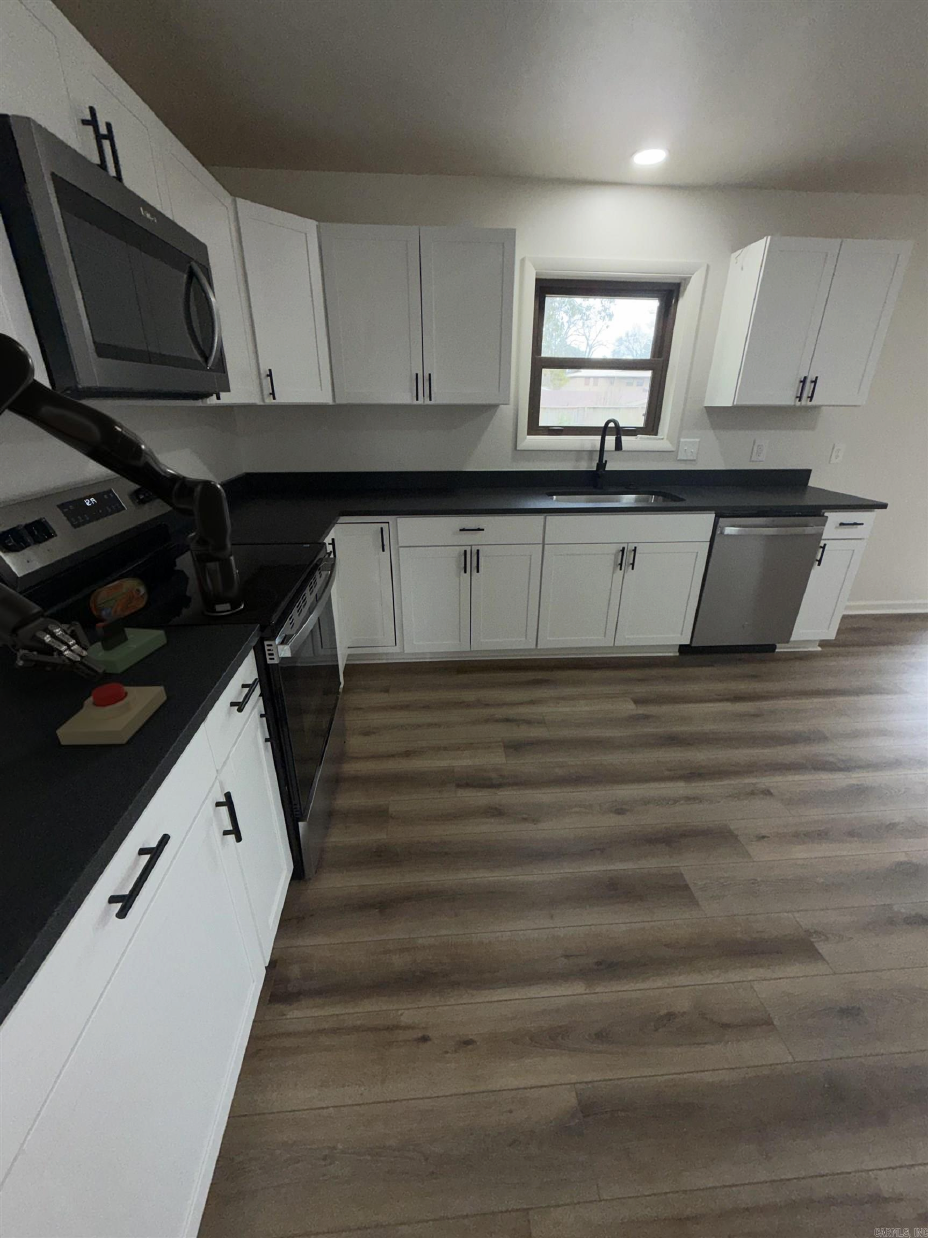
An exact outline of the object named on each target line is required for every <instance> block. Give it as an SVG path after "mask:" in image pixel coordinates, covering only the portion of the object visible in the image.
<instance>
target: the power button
mask: <svg viewBox="0 0 928 1238" xmlns="http://www.w3.org/2000/svg"><path fill="white" fill-rule="evenodd" d="M123 687H124V685H123V684H122V683H120V682H110V683H106V684H103V685H100V686H98V687H96V688H95V689H93V690H92V691H91V696H92V697H93V700H94V703H95V705H96V706H97V707H105V706H109V705H113V704H116V703H118V702H120V701H122V700H124V699H125V698H126V694H125V691H124V688H123Z"/></svg>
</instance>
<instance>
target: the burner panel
mask: <svg viewBox="0 0 928 1238" xmlns="http://www.w3.org/2000/svg"><path fill="white" fill-rule="evenodd" d="M124 628H125V631H126V635H127V638H128V640H127V641H125V642H124V643H122V644H120V645H119V646H117V647H115V648H114V649H112V650H110V651H108V650H103V648H102V645H101V642H100V640H99V641H98V642H96V643H94V644H92V645H90V648H89V649H88V651H87V655H88V656H89V657H90V658H92V659H94V660H95V661H97V662H99V663H100V664H102V665H103V666H104V667H105V668H106V672H105V673H109V674H121V673H122V672H124V671H125V670H127V669H128V668H130V667H131V666H133V665H135V664H136V663H138V662H139V661H141V660H142V659H143V658H145V657H147V656H148V655H150V654H151V653H153V652H155V651H156V650H157V649H159V648H161V647H163V646H164V645H166V644H167V643H168V641H167V637H166V633H165V630H161V629H148V628H146V629H145V628H132V627H124Z"/></svg>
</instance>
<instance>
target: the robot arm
mask: <svg viewBox="0 0 928 1238" xmlns="http://www.w3.org/2000/svg"><path fill="white" fill-rule="evenodd" d="M35 375H36V369H35V363H34V360H33V358H32V357H31V354H30V352H29V351H28V350H27V349H26V348H25V347H24V345H23V344H21V343H20V342H19V341H17V340H16V339H15V338H13V337H12V336H10V335H8V334H5V333H3V332H0V417H1V416H2V415H3V414H4V413H5V412H6V411H8V412H10V413H12V414H15V415H16V416H18V417H20V418H22V419H24V420H26V421H28V422H29V423H31V424H32V425H34V426H36V427H38V428H39V429H41V430H42V431H44V432H46V433H47V434H49V435H50V436H52V437H53V438H55V439H57V440H58V441H59V442H62V443H63V444H65V445H67V446H68V447H70V448H71V449H74V450H75V451H77V452H79V453H80V454H81V455H83V456H85V457H86V458H87V459H89V460H91V461H92V462H95V463H96V464H98V465H100V466H102V467H103V468H105V469H106V470H108V471H110V472H112V473H114V474H116V475H118V476H120V477H121V478H123V479H125V480H127V481H129V483H132V484H134V485H136V486H138V487H141V488H142V489H144V490H145V491H148V492H149V493H150V494H152V495H153V496H155V497H156V498H157V499H159V500H160V501H161V502H163V503H164V504H166V505H167V506H168V507H170V508H171V509H172V510H174V511H175V512H176V513H178V514H180V515H183V516H184V517H187V518H194V520H195V521H194V522H195V527H196V530H195V532H193V533H191V534H189V535H188V536H187V542H188V543H187V544H188V548H189V552H190V557H191V560H192V564H193V565H192V566H193V569H194V573H195V577H196V581H197V585H198V589H199V595H200V597H201V602H202V607H203V612H204V614H205V616H208V617H226V616H231V615H234V614H236V613H239V612H240V611H242V610H243V609H244V608H245V605H244V604H246V603H245V598H244V593H243V588H242V583H241V578H240V574H239V570H238V569H237V568H236V563H235V558H234V553H233V548H232V543H231V533H232V525H231V517H230V511H229V504H228V500H227V496H226V493H225V491H224V488H223V487H222V486H221V485H220V484H219V483H218V482H216V481H215V480H212V479H206V478H194V477H188V476H186V475H184V474H182V473H180V472H178V471H177V470H175V469H173V468H171V467H170V466H168V465H167V464H166V463H164V462H162V461H161V460H160V458H158V456H156V454H155V453H154V451H153V449H152V448H151V447H150V446H149V444H148V443H147V442H146V441H145V440H144V439H143V438H142V436H140V435H139V434H137V433H136V432H135V431H133V430H132V429H131V428H129V427H127V425H124V424H123V423H122V422H120V421H119V420H118V419H116V418H115V417H113V416H111V415H109V414H107V413H105V412H104V411H101V410H99V409H97V408H95V407H93V406H91V405H89V404H86V403H83V402H81V401H79V400H77V399H74V398H72V397H69V396H67V395H64V394H62V393H60V392H58V391H56V390H54V389H53V388H50V387H49V386H47V385H46V384H44V383H42V382H41V381H39V380H38V379H36V378H35ZM90 646H91V644H90V642H89V640H88V638H87V636H86V634H85V632H84V630H83V628H82V626H81V624H80V623H79V622H78V621H75V620H73V621H71V622H70V624H68V623H67V624H66V623H65V624H64V623H60V622H59V621H58V620H55V619H52V618H49V617H47V616H46V615H45V612H44V609H43V608H42V607H40V606H39V605H37V604H36V603H34V602H32V601H31V600H30V599H27V598H26V597H24V596H23V595H21V594H19V593H18V592H17V591H15V590H13V589H12V588H11V587H9V586H7V585H6V584H3V582H0V647H9V648H10V650H11V651H13V652H14V653H16V656H17V659H16V660H15V663H14V664H13V667H14V668H15V669H16V670H17V669H18V670H25V671H33V672H42V673H50V674H56V675H57V674H61V673H62V672H65V671H73V672H75V673H76V674H78V675H80V676H82V677H83V678H85V679H86V680H88V681H92V682H97V681H98V680H100V679H101V678H102V677H103V676H104V674H105V673H107V672H106V668H105V667H104V666H103V665H102V664H100V663H99V662H97V661H95V660H94V659H92V658H90V657H89V656H88V655H87V651H88V649H89V648H90Z"/></svg>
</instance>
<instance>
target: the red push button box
mask: <svg viewBox="0 0 928 1238" xmlns="http://www.w3.org/2000/svg"><path fill="white" fill-rule="evenodd" d="M123 688H124V691H125V694H126V698H125V699H124V700H122V701H120V702H118V703H116V704H113V705H109V706H105V707H97V706H96V705H95V703H94V700H93V697H92V695H91V696H90V697H89V698H88V697H87V699H86V700H85V701H84V703H83V707H82V709H80V710H79V711H78V712H77V713H76V714H75V715H73V716H72V717H71V718H70V719H68V720H67V721H66V722H64V724H62V726H60V727H59V728H58V729H57V730H56V731H55V732H56V735H57V737H58V739H59V741H60V742H59V743H60V744H61V745H62V746H63V745H64V746H66V745H67V746H68V745H121V744H126V743H127V742H128V741H129V740H130V738H132V736H133V735H135V733H137V731H138V730H139V729H140V728H141V727H142V726H143V725H144V724H145V723H146V721H147V720H148V719H149V718H150V717H151V716H152V715H153V714H154V713H155V712H156V711H157V710H158V709H159V708H160V706H161V705H163V703H164V702H165V701H166V700H167V699H168V698H167V694H166V690H165V688H164V686H163V685H162V686H160V685H159V686H157V685H156V686H123Z"/></svg>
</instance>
